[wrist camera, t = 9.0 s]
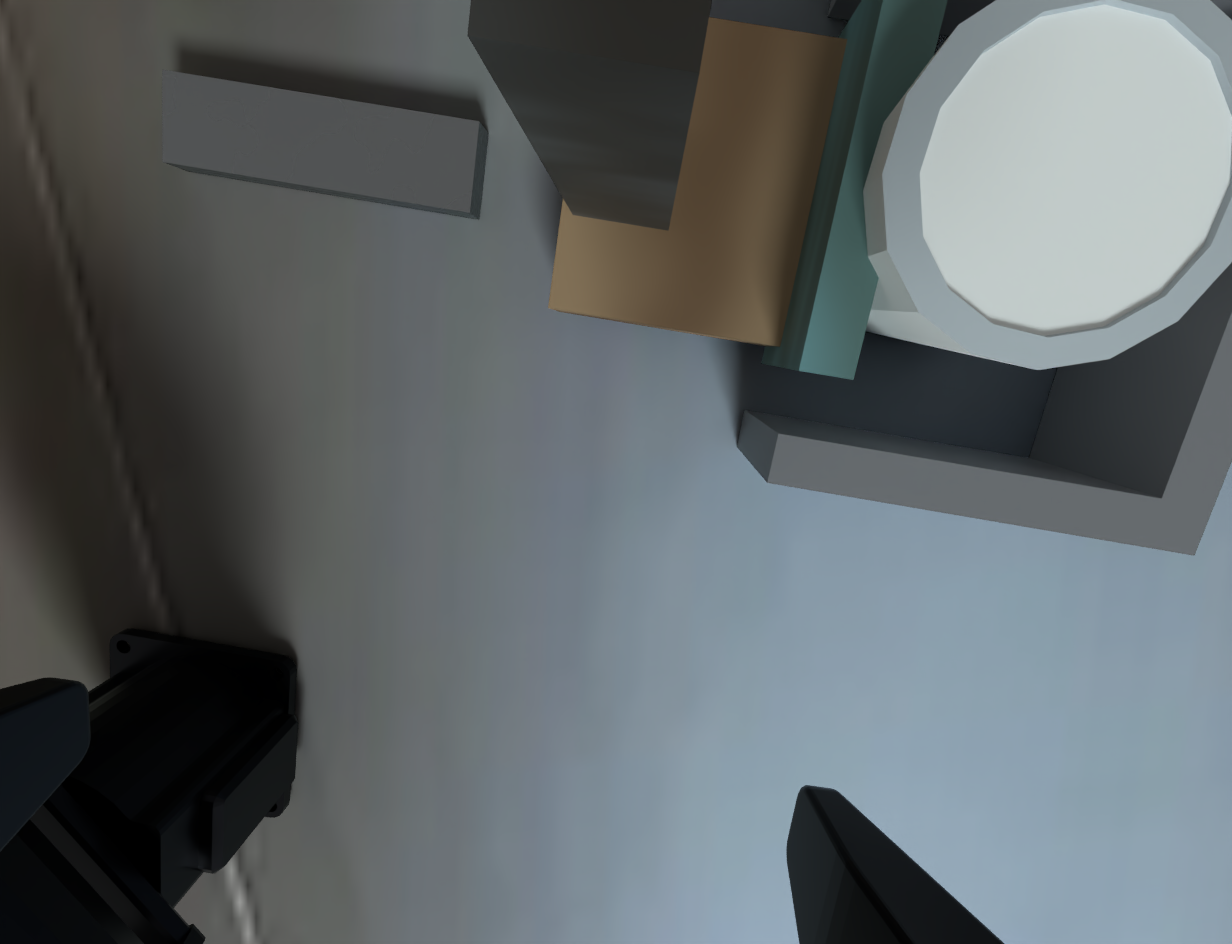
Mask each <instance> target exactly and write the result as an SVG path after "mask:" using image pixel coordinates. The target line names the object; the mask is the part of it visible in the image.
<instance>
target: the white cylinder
mask: <svg viewBox="0 0 1232 944" xmlns="http://www.w3.org/2000/svg"><path fill="white" fill-rule="evenodd" d="M863 197H864V210H865V224H866V237H867V251H868V258H869V260H870V262H871V264H872V266H873V267H874V269H875V271H876V273H877V275H878V277H879V279H878V283H877V287H876V291H875V295H874V299H873V303H872V307H871V311H870V315H869V319H868V323H867V327H866V331H867V332H871V333H875V334H879V335H883V336H887V337H892V338H896V339H900V340H905V341H909V342H914V343H918V344H923V345H927V346H932V347H936V348H940V349H945V350H949V351H954V352H958V353H963V354H967V355H972V356H976V357H981V358H985V359H990V360H994V361H999V362H1003V363H1008V364H1012V365H1017V366H1021V367H1026V368H1030V369H1034V370H1043V369H1049V368H1055V367H1062V366H1068V365H1075V364H1081V363H1087V362H1094V361H1100V360H1107V359H1111V358H1112V357H1114V356H1116V355H1118V354H1120V353H1121V352H1123V351H1125V350H1127V349H1129V348H1130V347H1132V346H1134V345H1136V344H1138V343H1139V342H1141V341H1143V340H1145V339H1147V338H1149V337H1150V336H1152V335H1154V334H1156V333H1158V332H1159V331H1161V330H1163V329H1165V328H1167V327H1168V326H1170V325H1172V324H1174V323H1176V322H1177V321H1179V319H1180V318H1181V317H1182V316H1183V315H1184V314H1185V313H1186V312H1187V311H1188V310H1189V308H1190V307H1191V306H1192V305H1193V304H1194V303H1195V302H1196V301H1197V300H1198V299H1199V297H1200V296H1201V295H1202V294H1203V293H1204V292H1205V291H1206V290H1207V289H1208V288H1209V287H1210V285H1211V284H1212V283H1213V282H1214V281H1215V280H1216V279H1217V278H1218V277H1219V276H1220V274H1221V273H1222V272H1223V271H1224V270H1225V269H1226V268H1227V267H1228V266H1229V265H1230V264H1231V262H1232V20H1231V19H1230V18H1229V17H1228V16H1227V15H1226V14H1225V13H1224V12H1223V11H1221V10H1220V9H1219V8H1218V7H1217V6H1216V5H1215V4H1214V3H1213V2H1212V1H1210V0H995V1H994V2H992V3H991V4H989V5H988V6H986V7H985V8H983V9H982V10H980V11H979V12H977V13H976V14H974V15H973V16H971V17H970V18H968V19H967V20H965V21H964V22H962V23H960V24H959V25H958V26H957V27H956V29H955V30H954V31H953V32H952V34H951V35H950V36H949V37H948V39H947V40H946V41H945V42H944V44H943V45H942V46H941V47H940V49H939V50H938V51H937V52H936V54H935V55H934V56H933V57H932V59H931V60H930V61H929V62H928V64H927V65H926V66H925V68H924V69H923V70H922V72H921V73H920V74H919V76H918V77H917V78H916V80H915V81H914V82H913V84H912V85H911V87H910V88H909V89H908V91H907V92H906V93H905V95H904V96H903V97H902V99H901V100H900V101H899V103H898V104H897V105H896V107H895V108H894V109H893V111H892V112H891V113H890V115H889V116H888V117H887V119H886V120H885V121H884V123H883V127H882V130H881V133H880V136H879V140H878V143H877V146H876V150H875V153H874V156H873V160H872V163H871V166H870V169H869V173H868V176H867V179H866V183H865V186H864V189H863Z"/></svg>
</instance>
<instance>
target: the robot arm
mask: <svg viewBox="0 0 1232 944" xmlns="http://www.w3.org/2000/svg"><path fill="white" fill-rule="evenodd" d="M127 642H128V643H129V644H130V646H129V645H128V644H127ZM276 667H277V668H279V669H281V670H282V672H283V674H281V673H279V672H278V671H277V669H276ZM296 673H297V669H296V665H295V663H294V661H293V660H292V659H290V658H289V657H287V656H284V655H279V654H273V653H267V652H262V651H256V650H250V649H245V648H239V647H233V646H228V645H222V644H216V643H211V642H205V641H199V640H194V639H188V638H182V637H177V636H171V635H165V634H160V633H154V632H148V631H143V630H137V629H126V630H124V631H122V632H120V633H118V634H116V635H115V636H113V637H112V639H111V640H110V679H108V680H107V681H105V682H103V683H102V684H100V685H99V686H97V687H95V688H94V689H92V690H91V691H89V692H88V690H87V688H86V687H85V685H84V684H82V683H81V682H79V681H73V680H66V679H59V678H41V679H37V680H33V681H29V682H26V683H22V684H18V685H14V686H10V687H6V688H2V689H0V944H203V942H204V941H205V937H204V935H203V934H202V933H201V932H200V931H199V930H198V929H197V928H196V926H195V925H194V924H191V925H188V924H187V923H186V922H185V921H184V920H183V918H182V917H181V916H180V915H179V914H178V913H177V912H176V911H175V909H174V907H175V906H176V905H177V903H178V902H179V901H180V900H181V899H182V897H183V896H184V895H185V894H186V893H187V891H188V890H189V889H190V888H191V887H192V885H193V884H194V883H195V882H196V881H197V879H198V878H199V877H200V876H201V875H202V873H203V872H207V873H216V872H217V871H219V870H220V869H222V868H223V867H224V866H225V865H226V864H227V863H228V861H229V860H230V859H231V858H232V856H233V855H234V854H235V853H236V851H237V850H238V849H239V848H240V846H241V845H242V844H243V843H244V841H245V840H246V839H247V838H248V837H249V835H250V834H251V833H252V832H253V830H254V829H255V828H256V827H257V825H258V824H259V823H260V822H261V820H262V819H263V818H264V817H277V816H280V815H281V813H282V812H283V811H284V810H285V809H286V807H287V806H288V805H289V801H290V787H291V783H292V782H293V780H294V779H295V768H296V749H297V731H298V722H297V719H296V717H295V716H294V711H295V692H296ZM787 865H788V872H789V878H790V885H791V891H792V898H793V904H794V911H795V917H796V924H797V930H798V937H799V944H1004V943H1003V942H1002V941H1001V940H1000V939H999V938H998V937H997V936H995V935H994V934H993V933H992V932H991V931H990V930H989V929H988V928H987V927H986V926H985V925H983V924H982V923H981V922H980V921H979V920H978V919H977V918H976V917H975V916H974V915H972V914H971V913H970V912H969V911H968V910H967V909H966V908H965V907H964V906H963V905H962V904H960V903H959V902H958V901H957V900H956V899H955V898H954V897H953V896H952V895H951V894H950V893H948V892H947V891H946V890H945V889H944V888H943V887H942V886H941V885H940V884H939V883H938V882H936V881H935V880H934V879H933V878H932V877H931V876H930V875H929V874H928V873H927V872H926V871H924V870H923V869H922V868H921V867H920V866H919V865H918V864H917V863H916V862H915V861H913V860H912V859H911V858H910V857H909V856H908V855H907V854H906V853H905V852H904V851H903V850H901V849H900V848H899V847H898V846H897V845H896V844H895V843H894V842H893V841H892V840H891V839H889V838H888V837H887V836H886V835H885V834H884V833H883V832H882V831H881V830H880V829H879V828H877V827H876V826H875V825H874V824H873V823H872V822H871V821H870V820H869V819H868V818H867V817H865V816H864V815H863V814H862V813H861V812H860V811H859V810H858V809H857V808H856V807H855V806H853V805H852V804H851V803H850V802H849V801H848V800H847V799H846V798H845V797H844V796H842V795H841V794H840V793H839V792H838V791H836V790H834V789H831V788H824V787H817V786H810V785H805V786H804V787H802V788H801V789H800V791H799V793H798V796H797V800H796V805H795V809H794V813H793V818H792V822H791V827H790V831H789V835H788V840H787Z"/></svg>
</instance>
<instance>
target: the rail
mask: <svg viewBox="0 0 1232 944" xmlns="http://www.w3.org/2000/svg"><path fill="white" fill-rule="evenodd" d="M488 134H489V133H488V132H487V131H486V129H485V128H484V127H483V125H482V124H481V123H480V121H475V120H468V119H462V118H456V117H450V116H444V115H438V114H432V113H426V112H419V111H413V110H407V109H401V108H395V107H389V106H383V105H377V104H370V103H364V102H358V101H352V100H346V99H340V98H334V97H328V96H321V95H315V94H309V93H303V92H297V91H291V90H285V89H279V88H272V87H266V86H260V85H254V84H248V83H242V82H236V81H230V80H223V79H217V78H211V77H205V76H199V75H193V74H187V73H181V72H174V71H168V70H162V162H164V163H167V164H169V165H172V166H175V167H178V168H180V169H183V170H186V171H188V172H195V173H201V174H207V175H213V176H219V177H225V178H231V179H237V180H243V181H249V182H255V183H261V184H267V185H273V186H279V187H285V188H291V189H297V190H303V191H309V192H315V193H321V194H327V195H333V196H339V197H346V198H352V199H358V200H364V201H370V202H376V203H382V204H388V205H394V206H400V207H406V208H412V209H418V210H424V211H430V212H436V213H442V214H448V215H454V216H460V217H466V218H472V219H478V220H479V218H480V209H481V200H482V190H483V181H484V172H485V162H486V153H487V143H488Z"/></svg>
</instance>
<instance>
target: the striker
mask: <svg viewBox="0 0 1232 944" xmlns="http://www.w3.org/2000/svg"><path fill="white" fill-rule="evenodd" d="M711 3H712V0H471V6H470V16H469V26H468V37H469V39H470V41H471V42H472V44H473V46H474V47H475V49H476V51H477V52H478V54H479V56H480V58H481V59H482V61H483V63H484V64H485V66H486V68H487V70H488V71H489V73H490V75H491V76H492V78H493V80H494V81H495V83H496V85H497V87H498V88H499V90H500V92H501V93H502V95H503V97H504V98H505V100H506V102H507V104H508V105H509V107H510V109H511V110H512V112H513V114H514V116H515V117H516V119H517V121H518V122H519V124H520V126H521V127H522V129H523V131H524V133H525V134H526V136H527V138H528V139H529V141H530V143H531V144H532V146H533V148H534V150H535V151H536V153H537V155H538V156H539V158H540V160H541V162H542V163H543V165H544V167H545V168H546V170H547V172H548V173H549V175H550V177H551V179H552V180H553V182H554V184H555V185H556V187H557V189H558V191H559V192H560V194H561V196H562V197H563V201H562V209H561V216H560V224H559V231H558V238H557V246H556V253H555V261H554V268H553V276H552V283H551V291H550V298H549V306H548V308H550V309H553V310H556V311H559V312H565V313H571V314H577V315H583V316H589V317H595V318H601V319H607V320H613V321H619V322H624V323H630V324H636V325H642V326H648V327H654V328H660V329H666V330H672V331H678V332H684V333H690V334H696V335H702V336H708V337H714V338H720V339H726V340H732V341H738V342H744V343H750V344H756V345H762V346H765V349H764V354H763V358H762V363H761V364H767V365H772V366H777V367H782V368H787V369H792V370H797V371H803V372H809V373H815V374H821V375H827V376H833V377H839V378H845V379H851V380H854V376H855V372H856V368H857V364H858V360H859V356H860V352H861V348H862V343H863V339H864V335H865V331H866V327H867V323H868V319H869V315H870V311H871V307H872V303H873V299H874V295H875V291H876V287H877V283H878V279H879V277H878V275H877V273H876V271H875V269H874V267H873V266H872V264H871V262H870V260H869V258H868V251H867V237H866V224H865V210H864V197H863V189H864V186H865V183H866V179H867V176H868V173H869V169H870V166H871V163H872V160H873V156H874V153H875V150H876V146H877V143H878V140H879V136H880V133H881V130H882V127H883V123H884V121H885V120H886V119H887V117H888V116H889V115H890V113H891V112H892V111H893V109H894V108H895V107H896V105H897V104H898V103H899V101H900V100H901V99H902V97H903V96H904V95H905V93H906V92H907V91H908V89H909V88H910V87H911V85H912V84H913V82H914V81H915V80H916V78H917V77H918V76H919V74H920V73H921V72H922V70H923V69H924V68H925V66H926V65H927V64H928V62H929V61H930V60H931V59H932V57H933V56H934V53H935V49H936V45H937V41H938V37H939V33H940V29H941V25H942V21H943V16H944V12H945V8H946V4H947V0H862V1H861V2H860V4H859V6H858V7H857V9H856V10H855V12H854V13H853V15H852V17H851V18H850V20H849V21H848V23H847V25H846V26H845V28H844V29H843V31H842V32H841V34H840V36H839V37H838V38H837V37H830V36H824V35H818V34H812V33H805V32H799V31H793V30H787V29H780V28H774V27H768V26H762V25H755V24H749V23H743V22H737V21H730V20H724V19H718V18H712V17H709V15H710V9H711Z"/></svg>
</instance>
